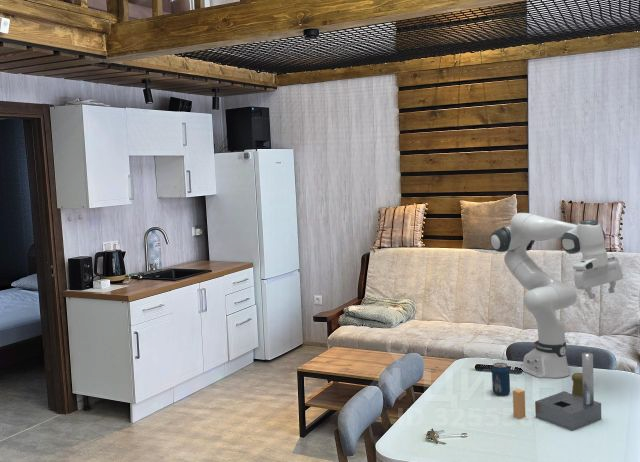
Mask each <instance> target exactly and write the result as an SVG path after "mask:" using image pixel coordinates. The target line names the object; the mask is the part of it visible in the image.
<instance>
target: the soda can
mask: <svg viewBox="0 0 640 462" xmlns="http://www.w3.org/2000/svg"><path fill="white" fill-rule="evenodd" d="M508 365H509V364H507V363H504V362H496V363H493V364H492V367H491V381H492V382H491V384H492V387H491V388H492V392H493V394H494V395H496V396H497V397H504V396H508V395H509V394H510V392H511V381H510V380H511V377H510V375H511V374H510V368H509V366H508Z"/></svg>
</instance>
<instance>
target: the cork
mask: <svg viewBox="0 0 640 462" xmlns="http://www.w3.org/2000/svg"><path fill="white" fill-rule="evenodd" d="M571 380H572V390H571V394H574V395H577V396H580V397H583V375H582V372H573V373H572V374H571Z"/></svg>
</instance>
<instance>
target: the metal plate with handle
mask: <svg viewBox="0 0 640 462" xmlns="http://www.w3.org/2000/svg"><path fill="white" fill-rule="evenodd" d="M581 367H582V368H581V369H582V370H581V371H582V372H581V373H582V375H583V397H580V396H577V395H574V394H572V392H571V393H570V392H567V391H564V390H563V391H560V392H558V393H555V394H552V395H550V396H547V397H544V398H541V399H539V400H535V402H534V407H535V408H534V409H535V412H534V413H535V418H537V419H539V420H542V421H545V422H548V423H551V424H553V425H556V426H558V427H561V428H563V429H564V428H565V429H567V430H570V431H571V432H573V431H575V430H578V429H580V428H583V427H586V426H588V425H590V424H593V423H595V422H599V421H600V420H602V403H601V402H599V401H596V400H595V397H594V396H595V393H594V392H595V391H594V390H595V389H594V386H595V385H594V353H591V352H582V353H581Z"/></svg>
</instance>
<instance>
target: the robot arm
mask: <svg viewBox="0 0 640 462" xmlns="http://www.w3.org/2000/svg"><path fill="white" fill-rule="evenodd" d="M606 236H607V235H606V232H605V231H604V229H603V228H602V226H601V223H600V222H599V221H597V220H594V219H586V220H582V221H580V222H578V223H574V222H573V223H572V222H568V221H563V220H557V219H553V218H549V217H545V216H541V215H538V214H534V213H530V212H518V213H516V214H514V215H513V216H512V217H511V220H510V225H509V226H503V227H500V228H498V229H496V230H495V231H493V232H491V235H490V238H489V242H490V245H491V248H492V249H493V250H494V251H496V252H498V253H499V252H500V253H505V255H504V257H503V261H504V264H505V265H506V267H507V268H508V270H509V272H510V273H511V274H512V275H513V277H514V278H515V279H516V280H517V282H518V283H519V284H520V285H521V286H522V287H523V288H524V289H526V290H528V291H526V293H524V296H523V305H524V307H525V308H526V310H527V311H528V312H530V313H531V314H532V315H533V316H534V319H535V321H536V325H537V336H538V337H537V339H538V340H536V341H533V344H532V345H535V346H534V347H535V348H533V349H532V350H530V351H529V352H527V353H526V354H525V355H524V357H523V361H522V362H523V363H521V364H519V365H518V367H517V369H518V368H521V369H522V370H523V372H525V373H526V374H530V375H532V376H534V377H536V378H539V379H540V378H541V379H542V378H543V379H545V378H551V379H555V378H556V379H557V378H560V379H561V378H564V377H568V376H569V375H570V374H571V372H570V369H569V365H568V360H567V359H568V358H567V342H566V336H565V335H566V330H565V329H566V328H565V324H564V323H563V321H562V320H560V319H558V318H557V315H556V311H559V310H563V309H566V308H569V307H570V306H571V307H572V305H574V304H575V303H576V301H577V298H578V296H577V295H578V294H577V291H576V289H577V290H581V291H582V290H583V291H584V292H585V293H586V294H587V295H588V299H589V300H591V299H593V300H594V299H596V294H595V293H593V292H592V288H594V287H598V286H601V285H605V284H609V288H608V289H607V291H608V293H609V294H614V293H615V292H616V290H615V288H616V284H617V283H616V282H617V281H620V280H622V279H623V277H624V274H623V270H622V267H621V265H620V261H619V258H617V257H615V256H610V257H608V253H607V250H606V248H605V242H606V238H607V237H606ZM558 238H560V243H561V247H562V250H563V251H565V253H568V254H570V255H576V254H580V253H582V258H581V259H580V260H578V261H576V262H575V263H574V264H572V269H573V271H574V273H573V280H574V286H575V288H576V289H575V288H574V286H572V285H571V284H569V283H565V282H562V281H560V280H558V279H556V278H554V277H553V276H551V275H549V274H548V273H547V272H545V271H544V270H543V269H542V268H541V267H540V266H539V265H538V263H536V262H535V261H534V260H533V259H532V258H531V256H530V255H529V254H528V252H527V251H530V250H531V249H532V248H533V245H534V244H535V242H536V241H538V242H544V241H549V240H552V239H558ZM522 370H521V371H522Z"/></svg>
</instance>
